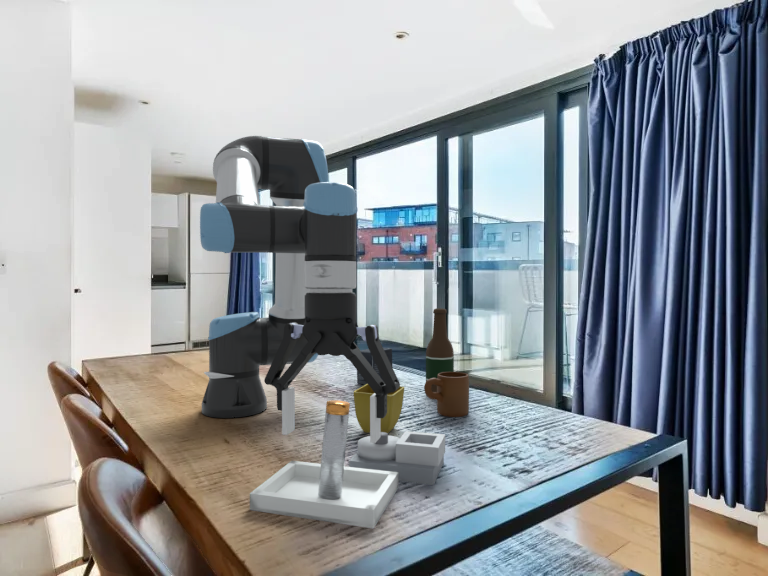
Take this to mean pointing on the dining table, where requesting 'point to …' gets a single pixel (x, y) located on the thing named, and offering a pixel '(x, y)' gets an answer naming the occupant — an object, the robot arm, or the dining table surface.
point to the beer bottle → (439, 349)
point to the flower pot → (363, 408)
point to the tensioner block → (403, 456)
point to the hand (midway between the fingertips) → (330, 436)
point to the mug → (450, 393)
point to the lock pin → (333, 449)
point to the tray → (300, 499)
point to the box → (373, 363)
